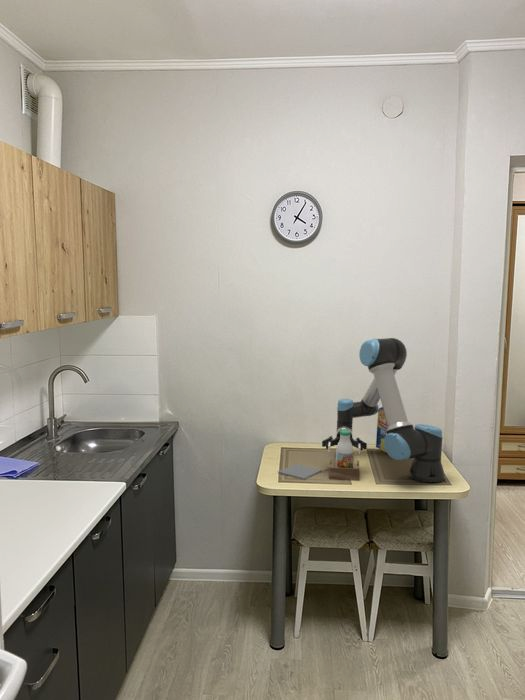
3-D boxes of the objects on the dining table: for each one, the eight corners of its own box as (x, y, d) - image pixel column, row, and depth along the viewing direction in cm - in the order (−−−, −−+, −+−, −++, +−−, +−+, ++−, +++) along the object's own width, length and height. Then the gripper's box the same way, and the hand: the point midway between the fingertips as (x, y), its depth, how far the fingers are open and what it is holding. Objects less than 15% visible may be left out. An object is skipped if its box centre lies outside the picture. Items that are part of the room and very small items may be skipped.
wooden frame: (329, 469, 264) (330, 459, 264) (358, 471, 263) (358, 460, 262) (329, 478, 253) (329, 467, 252) (359, 480, 251) (359, 469, 250)
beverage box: (384, 442, 299) (386, 404, 290) (401, 450, 291) (404, 412, 282) (375, 446, 295) (378, 408, 286) (393, 455, 287) (396, 416, 278)
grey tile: (321, 471, 262) (321, 470, 262) (304, 479, 251) (304, 478, 251) (296, 465, 270) (296, 463, 270) (278, 473, 260) (278, 471, 259)
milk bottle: (331, 474, 258) (332, 430, 256) (343, 470, 263) (344, 427, 261) (345, 478, 253) (346, 434, 250) (356, 475, 258) (357, 431, 255)
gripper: (370, 445, 273) (372, 460, 252) (318, 442, 277) (315, 456, 256) (371, 430, 272) (373, 443, 251) (318, 427, 276) (316, 440, 255)
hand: (344, 450), depth 253 cm, fingers open, 12 cm apart
